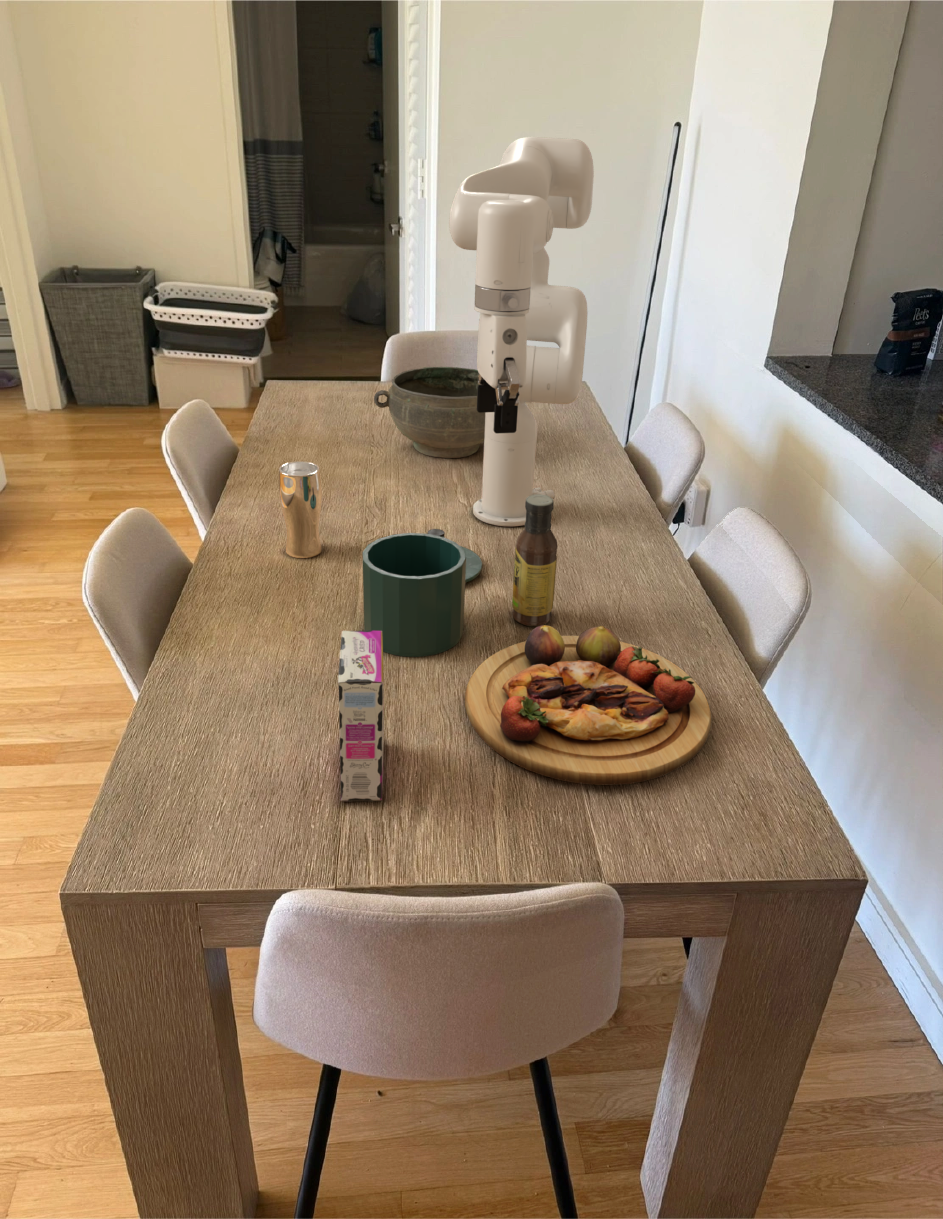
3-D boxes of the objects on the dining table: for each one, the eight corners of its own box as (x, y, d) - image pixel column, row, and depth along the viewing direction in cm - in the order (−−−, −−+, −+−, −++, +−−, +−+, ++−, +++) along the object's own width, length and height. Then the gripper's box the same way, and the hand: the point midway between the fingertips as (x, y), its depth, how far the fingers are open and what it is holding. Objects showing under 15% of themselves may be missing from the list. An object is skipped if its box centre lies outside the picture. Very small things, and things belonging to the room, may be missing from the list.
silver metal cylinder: (316, 561, 159) (312, 478, 152) (277, 556, 160) (270, 473, 153) (329, 544, 165) (326, 463, 158) (291, 539, 166) (286, 458, 159)
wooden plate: (545, 822, 106) (550, 764, 102) (424, 677, 130) (424, 626, 126) (762, 747, 119) (775, 693, 115) (615, 629, 143) (622, 580, 139)
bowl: (506, 426, 224) (509, 363, 216) (531, 466, 202) (536, 397, 194) (369, 429, 218) (368, 364, 211) (380, 470, 196) (379, 399, 189)
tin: (436, 598, 149) (437, 526, 143) (480, 643, 138) (484, 567, 132) (349, 617, 143) (347, 542, 137) (388, 666, 132) (387, 587, 126)
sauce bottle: (517, 604, 149) (526, 486, 139) (556, 612, 147) (567, 493, 137) (505, 623, 143) (513, 502, 134) (545, 632, 142) (555, 509, 132)
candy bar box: (384, 802, 108) (383, 682, 99) (340, 803, 107) (335, 683, 99) (384, 741, 117) (383, 628, 109) (343, 742, 117) (339, 628, 109)
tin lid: (455, 542, 168) (456, 507, 164) (498, 579, 156) (500, 543, 153) (374, 557, 161) (373, 521, 158) (412, 598, 149) (412, 560, 146)
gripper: (548, 312, 122) (538, 440, 130) (511, 287, 137) (504, 403, 145) (491, 313, 120) (485, 442, 129) (461, 287, 135) (457, 405, 143)
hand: (495, 421), depth 137 cm, fingers open, 9 cm apart
